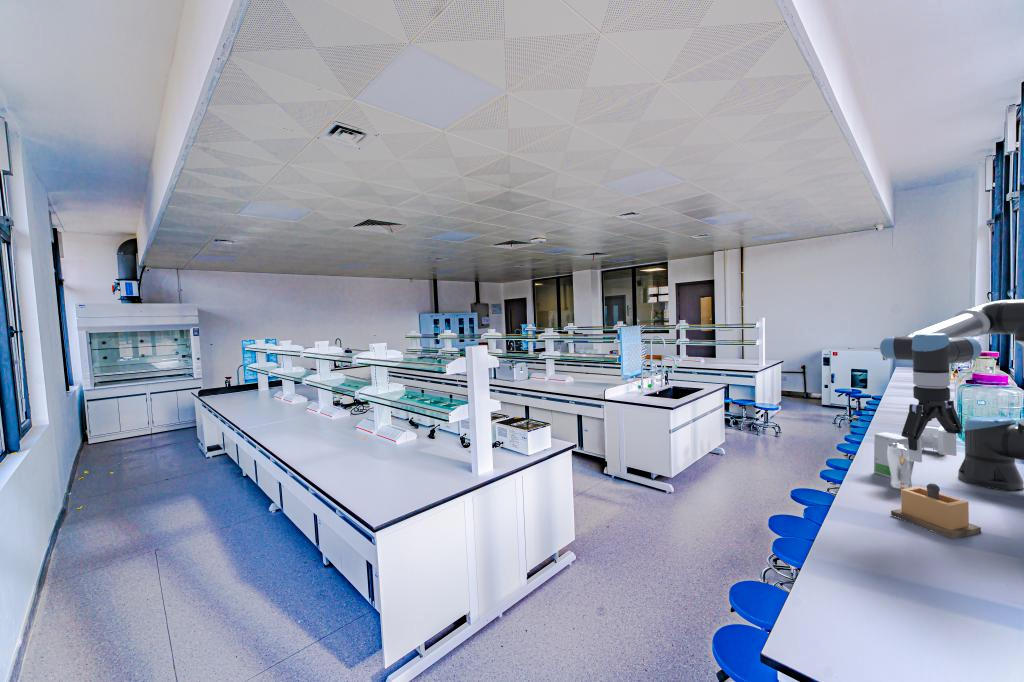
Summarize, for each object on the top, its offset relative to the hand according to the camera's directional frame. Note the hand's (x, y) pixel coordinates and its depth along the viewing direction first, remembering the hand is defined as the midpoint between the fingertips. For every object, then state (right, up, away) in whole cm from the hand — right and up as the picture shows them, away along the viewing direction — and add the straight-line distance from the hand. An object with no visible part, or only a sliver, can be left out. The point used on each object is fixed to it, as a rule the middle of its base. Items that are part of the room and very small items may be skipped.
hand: (932, 457), depth 121 cm
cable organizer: (+59, -14, +59) cm, 85 cm away
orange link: (+1, -18, +1) cm, 18 cm away
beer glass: (+15, -18, +25) cm, 35 cm away
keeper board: (+1, -20, +1) cm, 20 cm away
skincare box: (+22, -17, +36) cm, 46 cm away
